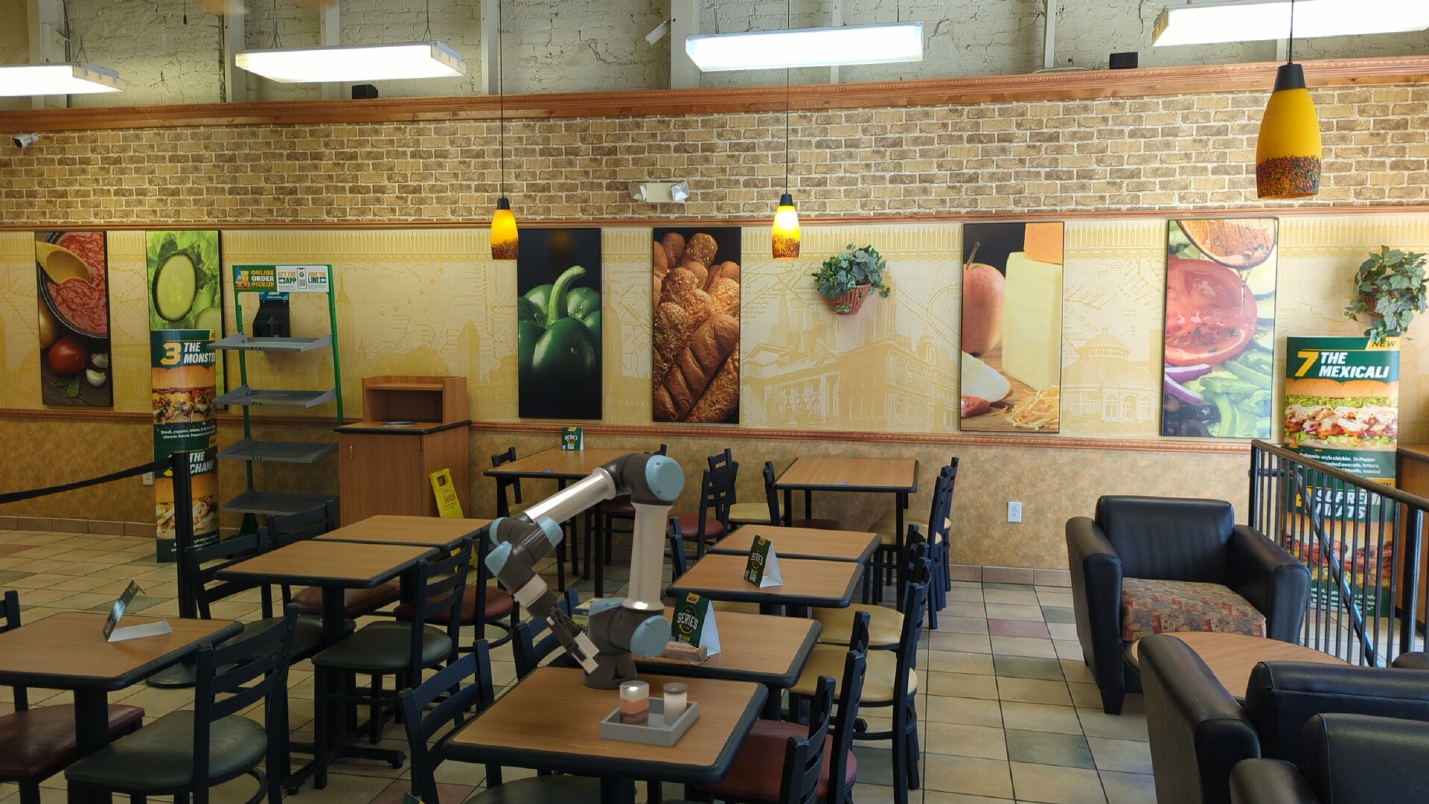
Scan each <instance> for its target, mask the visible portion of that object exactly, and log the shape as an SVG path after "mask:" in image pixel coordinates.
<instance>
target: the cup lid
mask: <svg viewBox="0 0 1429 804" xmlns="http://www.w3.org/2000/svg"><path fill="white" fill-rule="evenodd" d="M662 688H663V689H662V690H663V693H664V692H666V693H670V694H680V693H684V692H686V691H687V692H688V685H687V684H686V683H683V682H668V683H666V684H664V685H663V686H662Z"/></svg>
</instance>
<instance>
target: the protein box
mask: <svg viewBox="0 0 1429 804" xmlns="http://www.w3.org/2000/svg"><path fill="white" fill-rule="evenodd" d="M600 599H606V597H597V596H595V597H593V598H591V599H589V600H586V602H584V603H582V604H580V605H577V606H576V607H574V608H572V620H573V621H574V622H575V623H576V624H577V625H579V627H581V626H582V628H583V630H582V631H581V632H583V633H584V635H585V636H586V637H587V638H588V639H589V617H588V615H589V606H590V604H591V603H592V602H594V601H596V600H600ZM581 632H580V633H581ZM574 638H575V637H574ZM572 659H573V660H577V659H576V658H575V657H574V656H573V655H572Z"/></svg>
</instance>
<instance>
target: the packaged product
mask: <svg viewBox="0 0 1429 804" xmlns="http://www.w3.org/2000/svg"><path fill="white" fill-rule="evenodd" d="M690 644H691V643H689V644H688V643H687V642H686V643H685V642H680V641H673V640H672V641H671V640H669V643H668V644H667V646H666V648H665V649H663V650H662V652H661V653H660V654H658V655H657V656H655V657H660V658H673V659H677V660H681V661H691V663H690V664H699V663H700V662H701V661H703V660H704V659H705V658H707V654H708V646H706V645H702V647H699V648H696V647H694V646H692V645H690ZM651 658H654V657H651Z"/></svg>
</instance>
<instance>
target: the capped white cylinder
mask: <svg viewBox="0 0 1429 804" xmlns="http://www.w3.org/2000/svg"><path fill="white" fill-rule="evenodd" d="M687 693H688V690H687V691H686V692H684V693H680V694H670V693H666V692H664V691H663V699H664V723H666V724H668V725H673V724H674V723H675V722H676V721H677V720H678V719H679V718H680V717H681V716H682V715H683V714H684V713H685V712H686V711H687V701H688V700H687V698H688V697H687V696H688V695H687Z"/></svg>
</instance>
